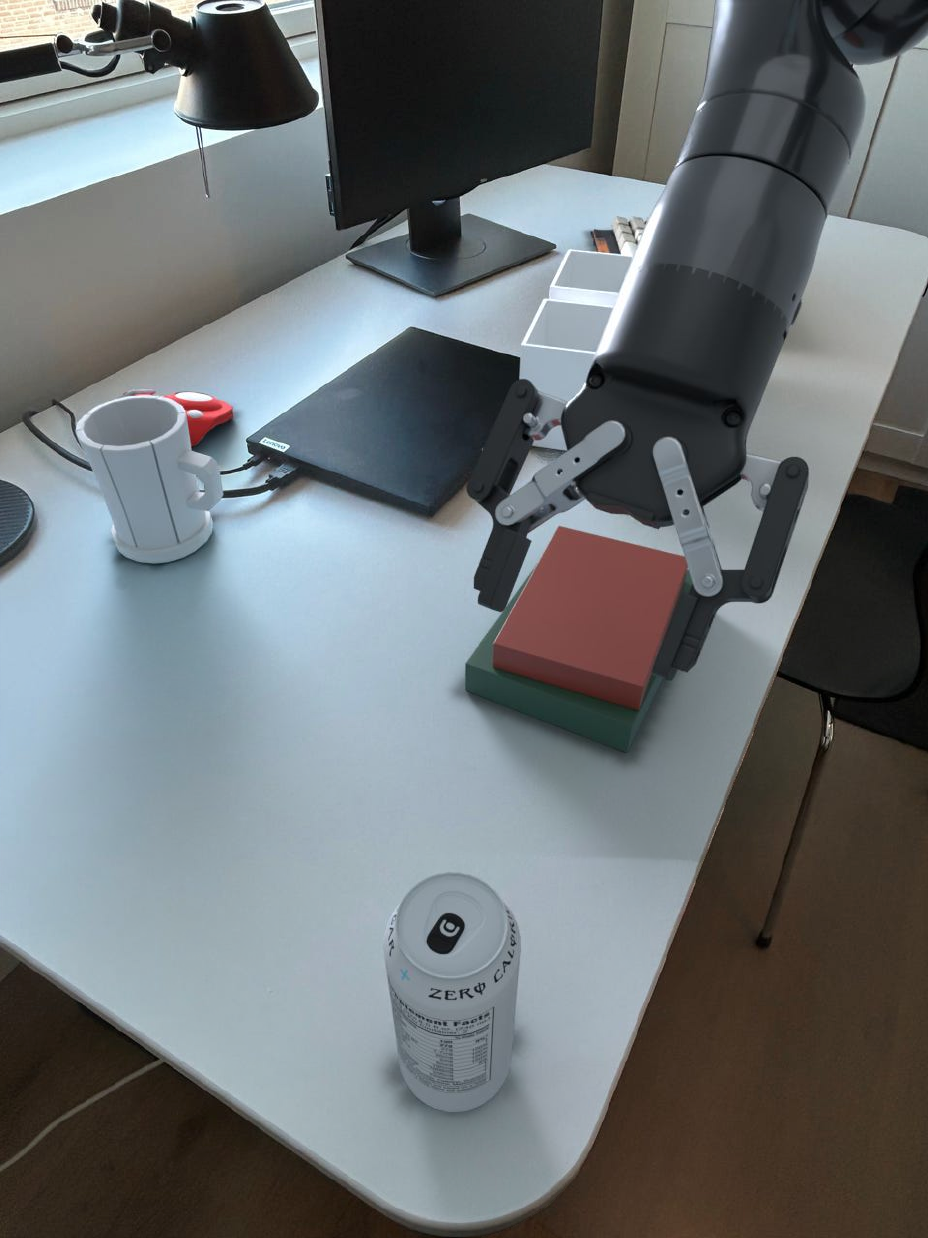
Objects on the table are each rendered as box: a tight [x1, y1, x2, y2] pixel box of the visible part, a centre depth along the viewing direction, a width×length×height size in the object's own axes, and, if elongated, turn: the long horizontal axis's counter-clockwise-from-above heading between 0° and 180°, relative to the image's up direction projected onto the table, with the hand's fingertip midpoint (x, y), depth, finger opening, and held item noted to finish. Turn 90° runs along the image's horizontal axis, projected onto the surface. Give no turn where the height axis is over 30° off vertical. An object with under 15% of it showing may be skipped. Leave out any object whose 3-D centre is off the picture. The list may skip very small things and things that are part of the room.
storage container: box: [518, 248, 633, 452], centre depth 96 cm, size 25×11×11 cm, turn 165°
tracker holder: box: [115, 389, 234, 447], centre depth 93 cm, size 12×4×10 cm
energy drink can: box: [382, 871, 522, 1113], centre depth 42 cm, size 6×6×15 cm
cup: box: [75, 394, 224, 564], centre depth 77 cm, size 10×9×12 cm
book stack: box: [464, 525, 693, 754], centre depth 69 cm, size 18×13×6 cm
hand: (572, 641), depth 39 cm, fingers open, 8 cm apart
